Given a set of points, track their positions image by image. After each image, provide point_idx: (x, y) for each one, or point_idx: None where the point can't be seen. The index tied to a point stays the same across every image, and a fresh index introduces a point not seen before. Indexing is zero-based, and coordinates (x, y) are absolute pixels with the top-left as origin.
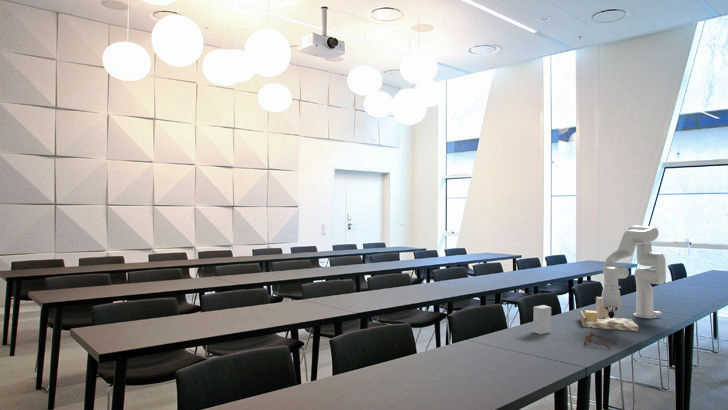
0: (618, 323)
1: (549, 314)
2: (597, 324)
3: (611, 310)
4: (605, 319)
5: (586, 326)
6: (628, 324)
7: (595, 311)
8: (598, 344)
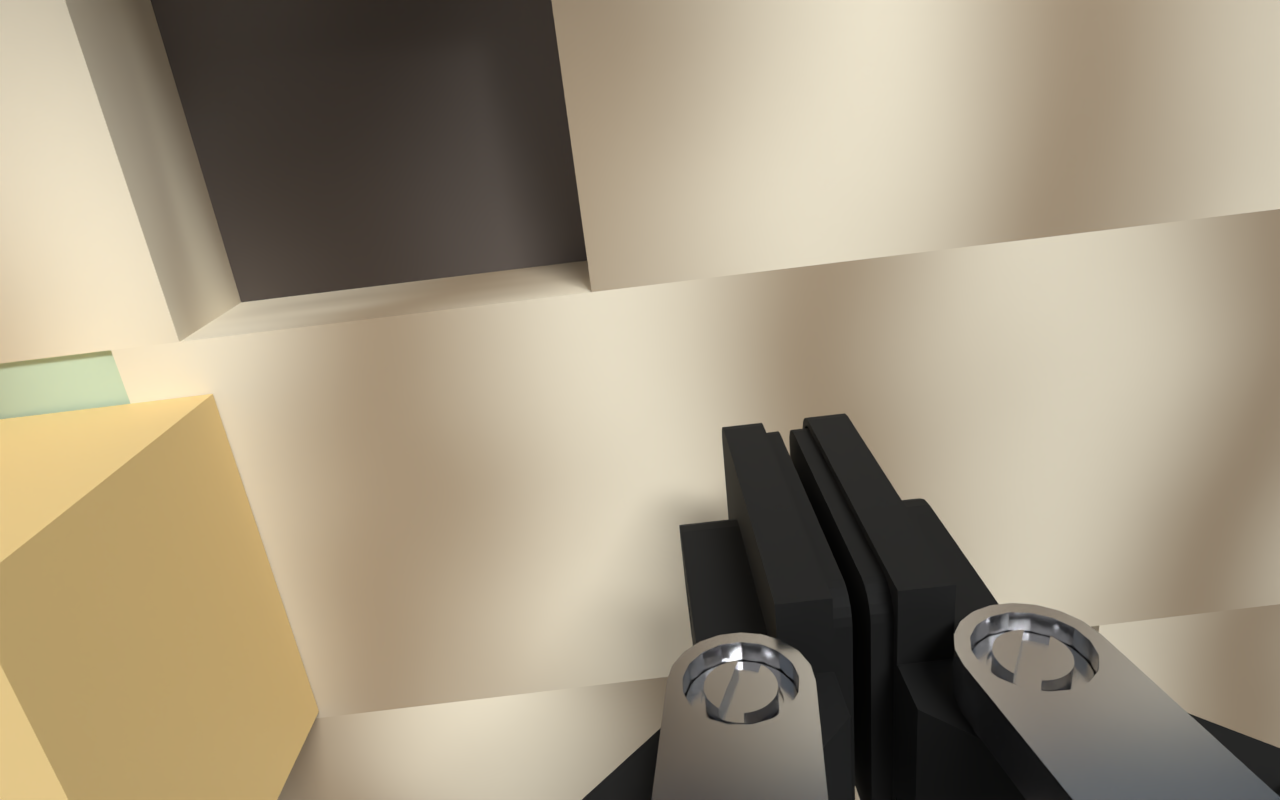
0: None
1: None
2: None
3: (912, 697)
4: (567, 311)
5: None
6: (1220, 713)
7: (4, 776)
8: None
